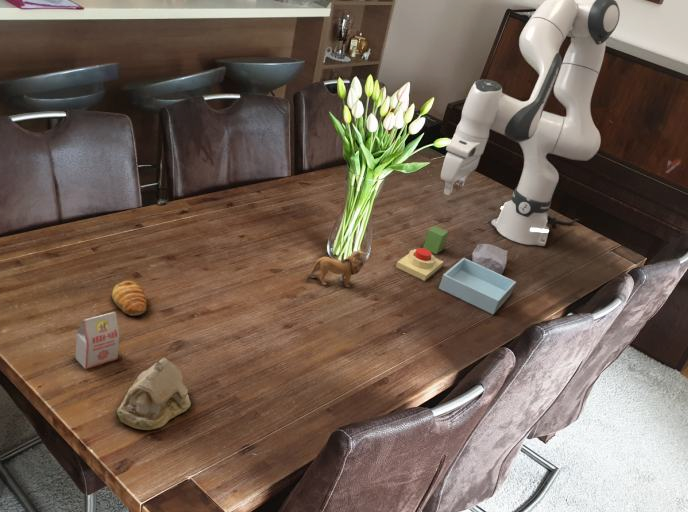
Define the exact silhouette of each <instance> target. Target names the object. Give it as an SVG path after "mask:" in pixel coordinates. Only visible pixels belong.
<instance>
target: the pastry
mask: <svg viewBox="0 0 688 512" xmlns="http://www.w3.org/2000/svg"><path fill="white" fill-rule="evenodd" d="M111 293H112V294H111V298H112V300H113V302H114V304H115V305H116V306H117V308H119V309H120V310H121V311H122V312H123V313H125V314H126V315H128V316H132V317H133V316H139V315H142V314H144V313H145V312H146V310H147V305H148V304H147V299H148V298H147V295H146V294H145V290H144V288H143V287H142V286H141V285H138V284H137V282H136V281H132V280H124V281H122V282H119V283H118V284H116V285H115V286H114V287H113V288H112V291H111Z"/></svg>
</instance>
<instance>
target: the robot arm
mask: <svg viewBox="0 0 688 512" xmlns="http://www.w3.org/2000/svg"><path fill="white" fill-rule="evenodd" d="M620 12H621V11H620V7H619V4H618V2H617V1H616V0H544V1H543V2H542V3H541V4H540V5H539V6H538V7H537V8H536V10H535V11H534V13H532V15H531V16H530V18H529V19H528V21H527V22H526V24H525V25H524V27H523V29H522V31H521V32H520V35H519V39H518V46H519V52H520V53H521V55H522V57H523V59H524V60H525V61H526V63H527V64H528V65H530V66H531V67H532V69H534V70H535V71H536V73H537V74H538V75H539V76H538V78H537V80H536V83H535V85H534V88H533V90H532V92H531V94H530V97H529V99H528V100H525V101H522V100H519V99H517V98H515V97H512V96H510V95H508V94H506V93H503V87H502V85H501V84H500V83H498V82H497V81H496V80H495V81H494V80H492V79H485V78H484V79H483V78H482V79H478V80H476V81H474V83H473V85H471V88H470V90H469V92H468V94H467V96H466V98H465V101H464V104H463V107H462V109H461V110H462V111H461V117H460V118H461V119H460V121H459V123H458V124H457V125H456V129H455V131H454V134H453V137H452V138H451V139H450V140H451V143H450V144H448V143H447V144H448V145H447V144H446V147H445V150H446V151H447V152H446V153H445V156H444V159H443V164H442V168H441V172H440V180H441V181H443V182H444V190H443V194H444V195H446V196H451V194H452V193H453V190H454V188H453V186H454V185H455V186H456V187H458V188H463V187H464V185H465V183H466V181H467V179H468V177H469V175H470V174H471V173H472V172H474V171H475V170H476V169H477V168H478V166H479V163H480V160H481V157H482V155H483V154H484V151H485V148H486V145H487V143H488V140H489V137H490V130H491V131H493V132H495V133H498V134H500V135H503V136H505V137H506V138H507V139H509V140H511V141H512V142H515V143H518V144H519V146H520V148H521V150H522V155H523V168H522V172H521V175H520V179H519V181H518V184H517V186H516V187H515V188H514V190H513V192H512V195H511V199H510V200H508V201H506V202H504V204H503V206H501V207H500V210H501V211H500V213H499V215H498V217H497V218H494V219H492V220H491V222H490V224H491V225H492V226H494V227H495V229H496V230H497V232H498V233H499V234H500V235H501V236H503V237H504V238H506V239H507V240H510V241H512V242H515V243H518V244H522V245H526V246H538V247H539V246H540V247H545V246H546V243H547V240H548V235H549V232H550V227H548V226H547V225H551V226H552V228H555V226H556V223H557V224H562V225H572V224H574V223H576V222H577V223H581V219H579V218H575V219H573V220H571V221H563V220H560V219H559V220H558V219H557V217H556V216H554V215H553V214H552V213H550V212H549V210H550V207H551V206H552V205H551V204H552V198H553V195H554V193H555V190H556V188H557V186H558V183H559V179H560V177H559V176H560V175H559V172H558V170H557V169H556V168H555V166H554V165H553V164H552V163H551V162H550V161H548V158H547V155H549V154H550V155H554V156H557V157H558V156H559V157H560V158H561V157H562V158H565V159H567V160H572V161H584V162H587V161H590V160H591V159H592V158H593V157H594V156H596V154H597V153H598V152H599V149H600V147H601V142H602V139H601V134H600V131H599V129H598V128H597V127H596V125H595V123H594V120H593V117H592V112H591V102H592V96H593V93H594V90H595V87H596V83H597V81H598V77H599V74H600V71H601V68H602V65H603V61H604V57H605V52H606V46H607V40H608V39H609V38H610V36H611V35H612V34H613V33H614V31H615V30H616V28H617V27H618V25H619V21H620V16H621V14H620ZM568 37H569V38H570V44H569V45H568V48H567V50H566V52H565V55H564V57H563V60H562V55H561V54H560V48H561V46H562V44H563V43H564V41H565V39H566V38H568ZM552 92H553V94H554V97H555V99H556V100H557V101H558V102H559V103H560V104H562V106H563V107H564V108H565V111H566V115H565V116H562V115H559V114H556V113H553V112H548V111H546V110H544V109H545V107H546V105H547V103H548V100H549V98H550V96H551V94H552ZM455 183H456V184H455Z"/></svg>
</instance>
